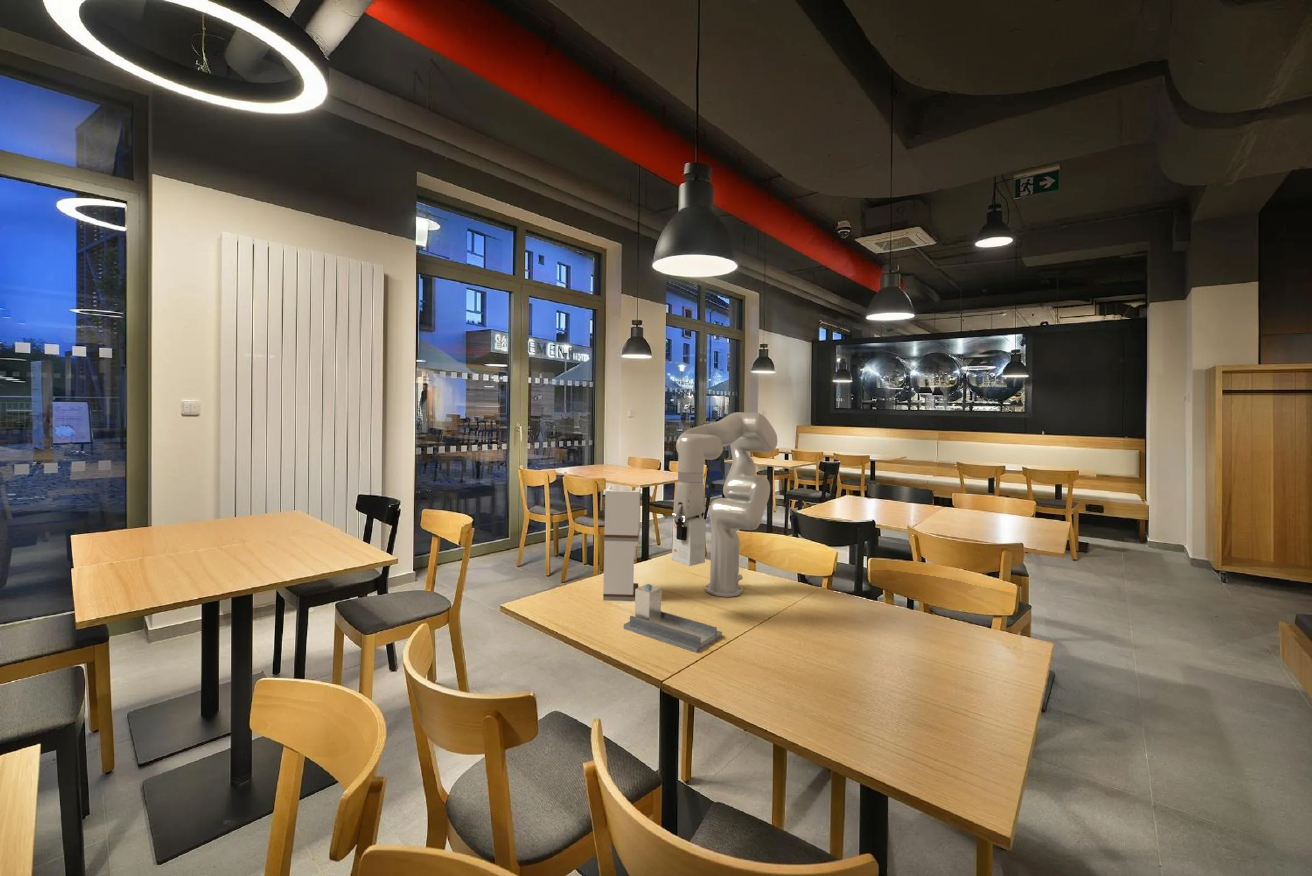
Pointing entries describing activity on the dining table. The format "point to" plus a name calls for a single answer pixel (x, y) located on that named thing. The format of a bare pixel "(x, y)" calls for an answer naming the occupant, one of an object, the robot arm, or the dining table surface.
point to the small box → (690, 543)
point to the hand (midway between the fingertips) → (688, 537)
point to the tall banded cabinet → (620, 543)
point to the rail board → (668, 623)
